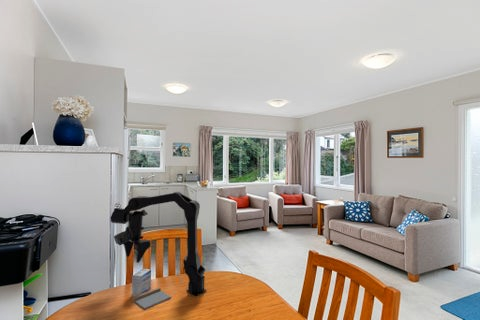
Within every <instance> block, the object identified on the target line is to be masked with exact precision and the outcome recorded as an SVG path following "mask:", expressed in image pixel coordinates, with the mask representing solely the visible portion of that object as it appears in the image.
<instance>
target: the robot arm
mask: <svg viewBox="0 0 480 320" xmlns="http://www.w3.org/2000/svg"><path fill="white" fill-rule="evenodd" d="M173 202H174V203H175V204H177V206H178V207H179V208H180V209H182V210H183V212H184V213H183V214H184V218H185V220H186V223H187V224H186V225H187V226H186V229H187V230H186V232H187V233H186V235H187V254H186V256H185V257H184V259H183V260H182V262H183V268H182V270H184V274H186V276H187V278H188V284H187V285H188V288H187V289H186V292H187V293H188V294H190V295H193V296H194V297H197V296H200V295H202V294H203V293H207V289H206V288H205V278H206V277H205V276H204V274H205V272H206V269H205V267H204V266H203V265H202V263H201V258H200V254H199V252H198V218H199V214H200V207H201V206H200V203H199V202H198V201H197V200H193V199H191V198H190V197H188V196H186V195H185V194H183V193H182V192H181V191H175V192H172V193H165V194H160V195H155V196H153V195H152V196H147V195H143V196H142V195H141V196H140V195H139V196H135V197H131V198H129V200H128V203H127V204H126V206H125V207H124V208H121V207H115V208H113V211H112V212H111V216H110V222H111V223H112V224H121V225H125V224H127V223H128V226H126V227H125V230H124V231H122V232H120V233H117V234H115V235H114V236H113V238H114V242H115V244H117V245H118V246H122V245H123V247H124V252H125V255H126V258H129V257H130V255H131V252H132V250H134V251H135V260H136V263H138V264H139V263H140V262H141V261H142V258H143V256H144V255H145V254H146V251H147V250H148V249H150V248H151V247H152V242H151V241H150V240H148V239H146V238H144V236H143V235H142V234H143V233H142V232H143V230H144V229H145V227H144V226H143V217H145V216H147V215H148V212H147V211H146V210H145V209H144V208H146V207H149V206H155V205H160V204H168V203H173Z"/></svg>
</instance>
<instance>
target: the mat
mask: <svg viewBox="0 0 480 320" xmlns="http://www.w3.org/2000/svg"><path fill="white" fill-rule="evenodd" d="M171 299H172V296H171V295H169V294H168V293H166V292H164V291H163V290H161V287H160V286H159V287H156V288H154V289H151V290H150V289H149V290H148V291H147V292H145V293H143V294H140V295H137V296H132V302H134V303H135V305H138V306H139V307H140V308H142V309H143V310H144V311H145V310H148V309H149V308H152V307H154V306H157V305H158V304H161V303H163V302H166V301H168V300H171Z"/></svg>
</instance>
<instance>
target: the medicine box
mask: <svg viewBox="0 0 480 320" xmlns="http://www.w3.org/2000/svg"><path fill="white" fill-rule="evenodd" d="M151 286H152V269H149V268H142V269H140V270H138V272H136V273H134V274H133V275H132V277H131V296H132V297H135V296H137V295H140V294H143V293H145V292H148V291H150V289H151Z"/></svg>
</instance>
